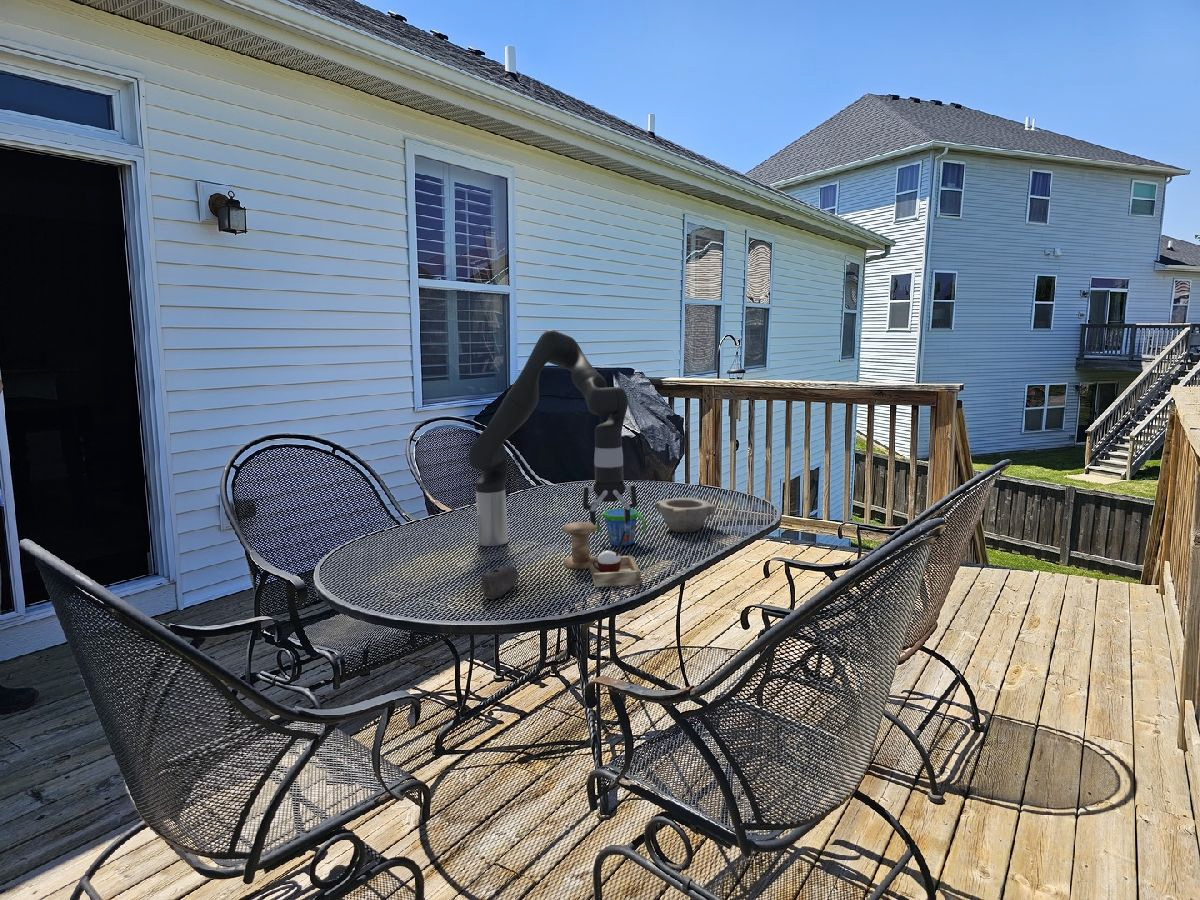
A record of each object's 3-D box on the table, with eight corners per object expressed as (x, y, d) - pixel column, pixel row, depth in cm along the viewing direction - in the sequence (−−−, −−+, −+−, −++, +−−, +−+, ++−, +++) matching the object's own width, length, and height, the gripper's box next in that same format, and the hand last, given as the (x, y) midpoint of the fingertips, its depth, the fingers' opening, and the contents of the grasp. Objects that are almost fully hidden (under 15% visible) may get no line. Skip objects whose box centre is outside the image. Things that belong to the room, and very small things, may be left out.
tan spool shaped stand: (564, 570, 204) (563, 532, 202) (562, 559, 214) (561, 523, 212) (600, 568, 205) (599, 529, 203) (597, 557, 215) (595, 521, 213)
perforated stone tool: (509, 583, 195) (508, 558, 194) (526, 585, 193) (524, 560, 192) (475, 601, 182) (473, 575, 181) (492, 604, 180) (491, 577, 179)
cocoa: (590, 575, 198) (586, 532, 196) (605, 568, 203) (601, 526, 201) (618, 580, 192) (614, 535, 190) (632, 572, 196) (628, 529, 195)
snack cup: (591, 546, 227) (590, 514, 225) (605, 537, 236) (604, 506, 235) (639, 550, 220) (638, 517, 219) (651, 541, 230) (650, 509, 228)
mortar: (721, 531, 238) (720, 504, 237) (675, 538, 231) (675, 510, 230) (693, 520, 253) (693, 494, 252) (650, 527, 247) (650, 500, 245)
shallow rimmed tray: (595, 587, 189) (594, 574, 189) (589, 569, 204) (589, 557, 204) (640, 584, 191) (640, 571, 190) (632, 566, 205) (632, 555, 205)
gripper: (582, 467, 188) (584, 528, 191) (637, 465, 189) (638, 526, 192) (580, 462, 195) (582, 521, 198) (633, 460, 197) (634, 518, 199)
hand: (610, 523), depth 195 cm, fingers open, 8 cm apart
